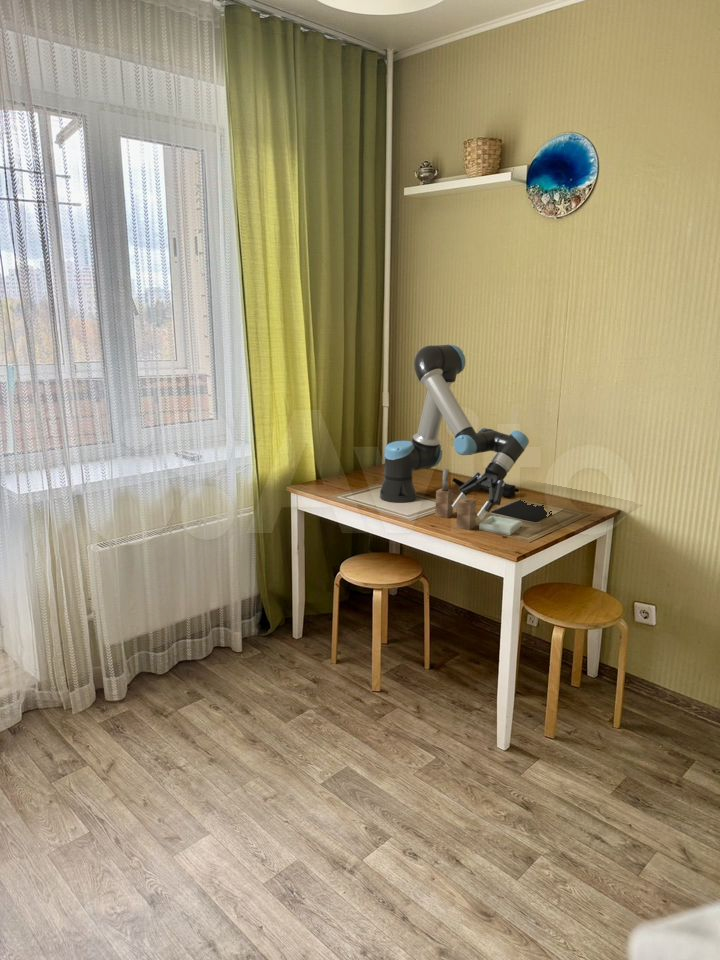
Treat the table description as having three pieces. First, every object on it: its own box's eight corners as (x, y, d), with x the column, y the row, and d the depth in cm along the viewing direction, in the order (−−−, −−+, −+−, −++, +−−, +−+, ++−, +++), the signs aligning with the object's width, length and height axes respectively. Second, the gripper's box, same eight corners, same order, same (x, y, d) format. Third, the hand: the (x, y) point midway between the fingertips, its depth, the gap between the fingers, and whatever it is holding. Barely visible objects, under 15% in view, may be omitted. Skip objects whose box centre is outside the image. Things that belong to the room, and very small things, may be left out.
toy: (448, 489, 310) (507, 499, 291) (448, 479, 309) (507, 488, 290) (460, 485, 317) (518, 495, 298) (460, 475, 316) (519, 484, 297)
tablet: (536, 522, 259) (489, 512, 271) (535, 524, 259) (488, 514, 271) (566, 508, 279) (521, 499, 291) (566, 510, 279) (521, 500, 292)
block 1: (435, 515, 267) (437, 470, 262) (440, 512, 271) (442, 467, 266) (447, 518, 264) (449, 472, 260) (452, 514, 268) (454, 469, 264)
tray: (479, 529, 251) (479, 523, 250) (491, 521, 260) (491, 515, 260) (509, 535, 245) (510, 529, 244) (520, 527, 254) (521, 520, 254)
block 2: (456, 527, 253) (457, 501, 250) (462, 524, 257) (463, 498, 254) (469, 530, 250) (470, 503, 248) (474, 526, 254) (476, 500, 252)
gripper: (528, 480, 248) (495, 527, 243) (480, 467, 268) (449, 510, 263) (519, 468, 243) (485, 515, 239) (471, 455, 264) (439, 498, 259)
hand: (466, 512), depth 251 cm, fingers open, 13 cm apart
